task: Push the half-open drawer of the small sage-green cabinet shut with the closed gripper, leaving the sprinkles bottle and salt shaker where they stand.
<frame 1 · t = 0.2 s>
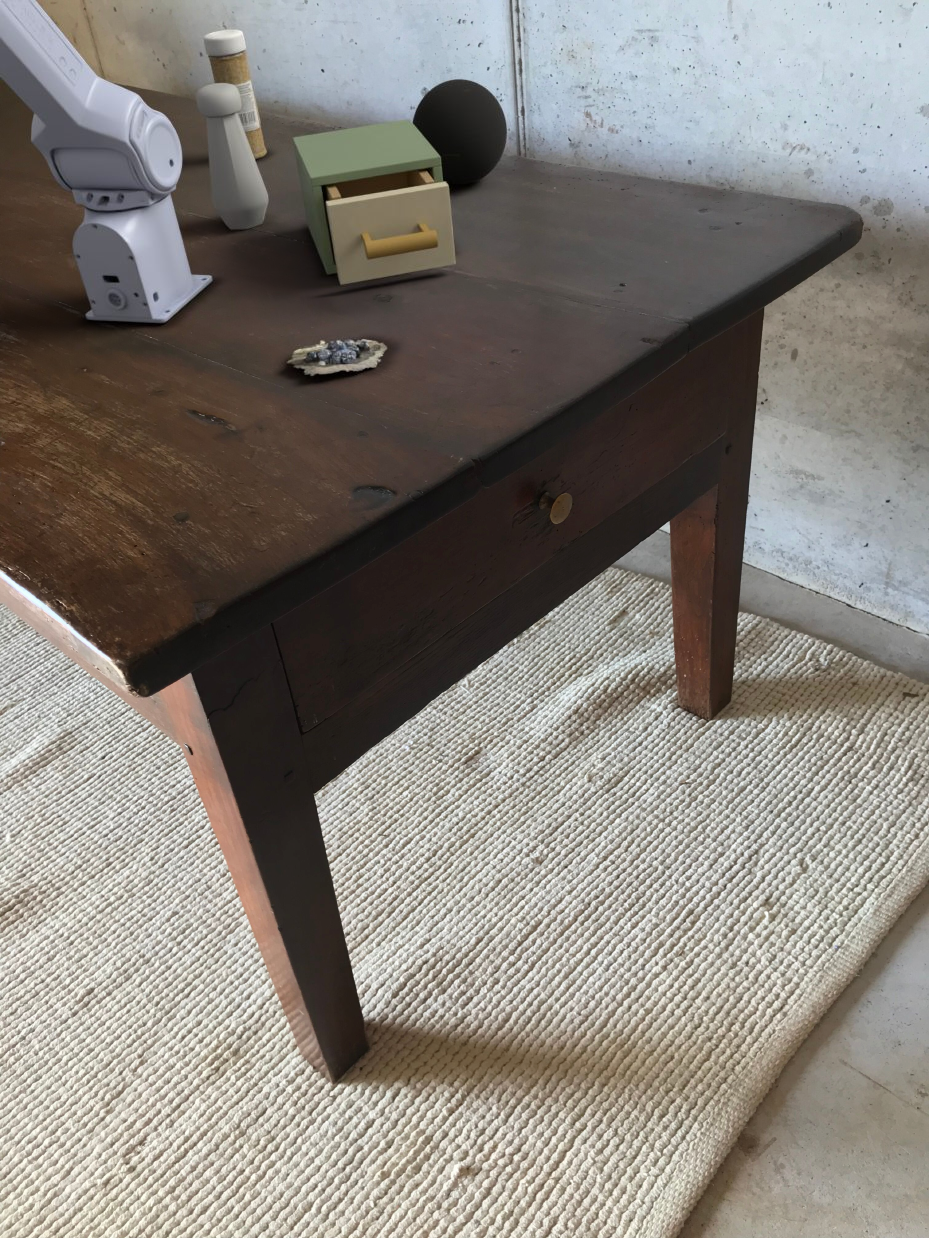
sprinkles bottle: (248, 158, 125), on the table
salt shaker: (245, 224, 107), on the table
black sphere: (463, 184, 111), on the table
cabinet: (376, 240, 100), on the table
blueberries: (340, 362, 80), on the table
drawer: (384, 220, 91), point 4 cm above the table, slide at 4.0 cm
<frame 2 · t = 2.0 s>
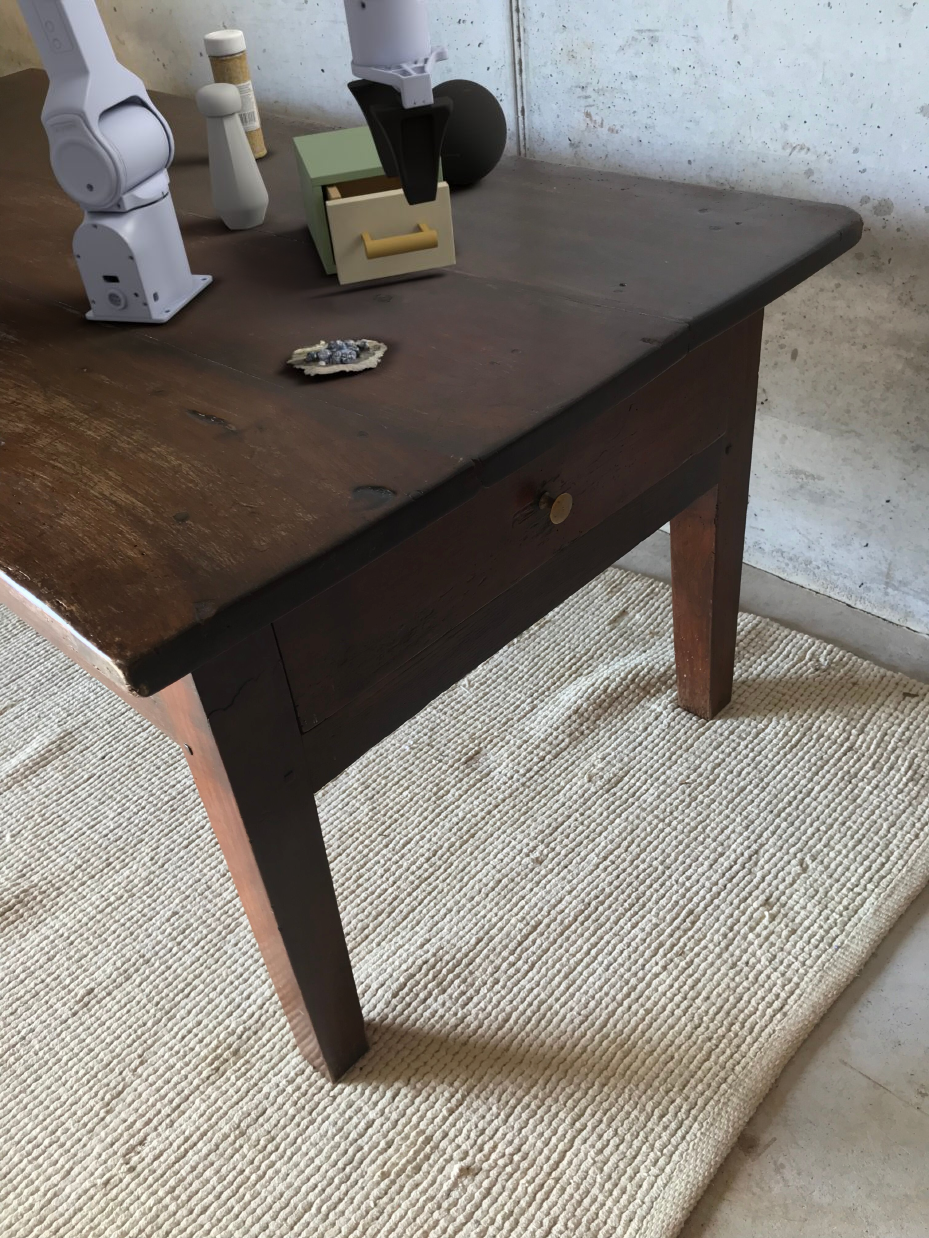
hand: (410, 188, 80), 10 cm above the table, tool pointing down, fingers open, 7 cm apart
nothing on the table moved.
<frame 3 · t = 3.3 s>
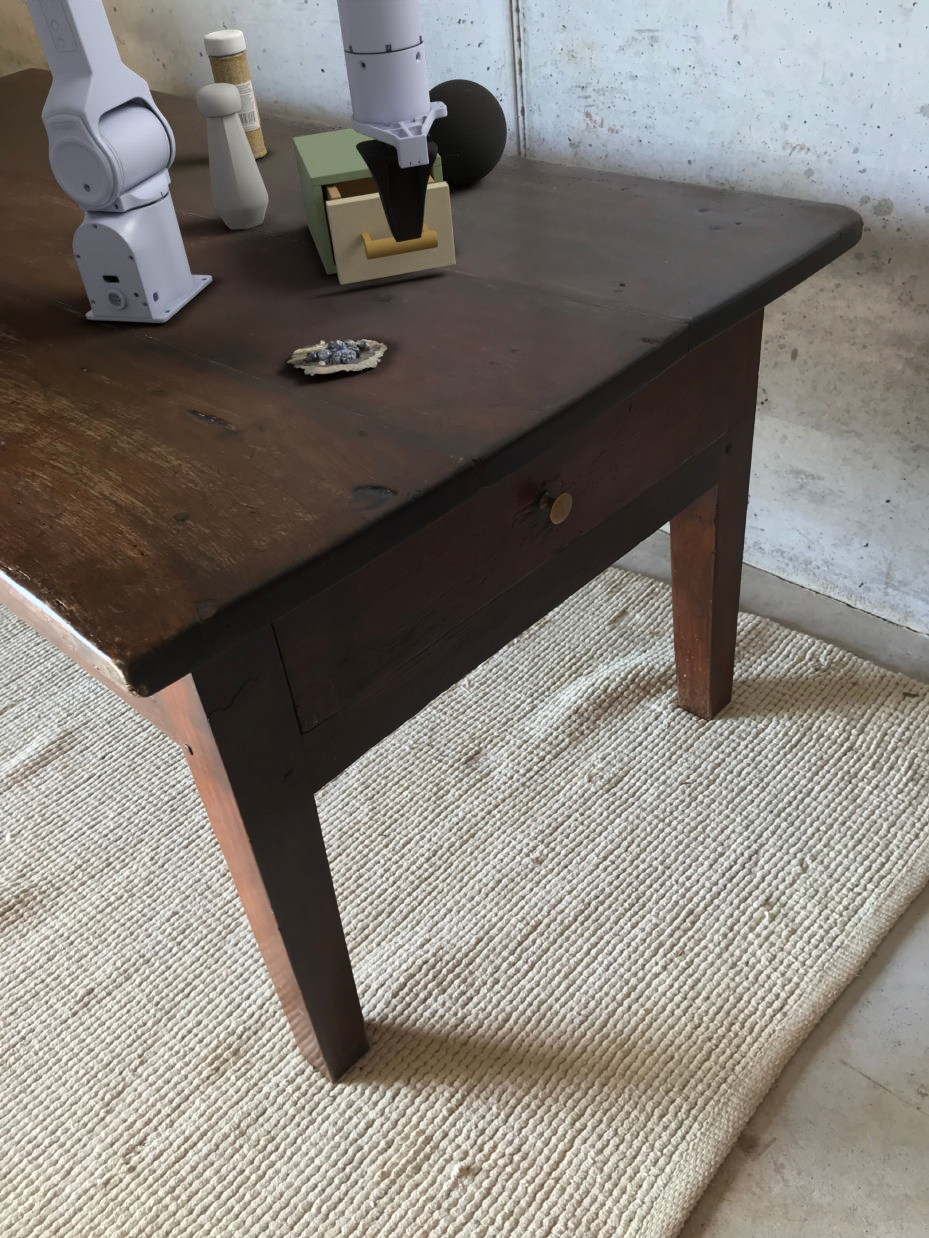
hand: (407, 237, 81), 6 cm above the table, tool pointing down, fingers closed
nothing on the table moved.
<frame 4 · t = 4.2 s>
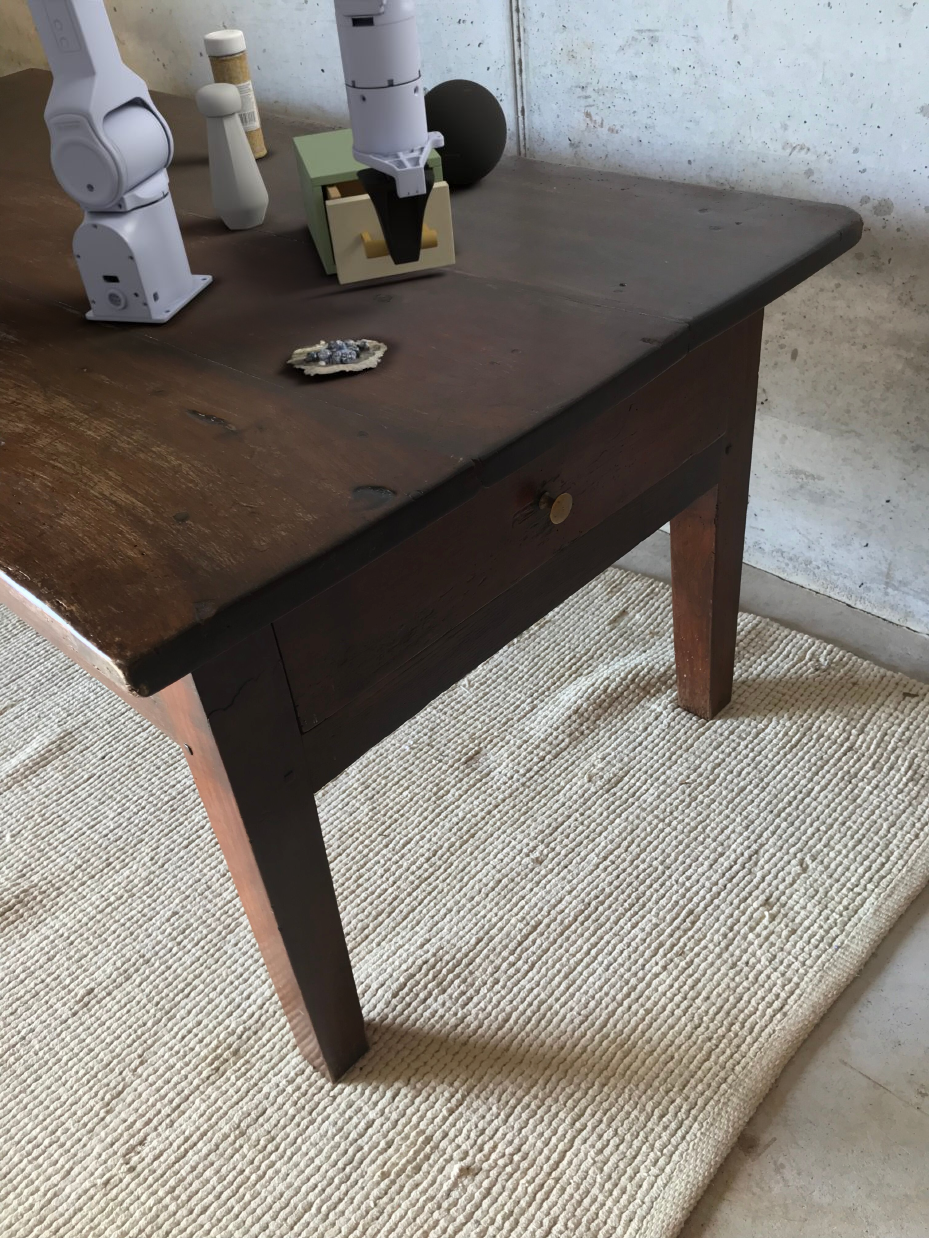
hand: (405, 260, 84), 4 cm above the table, tool pointing down, fingers closed
drawer: (384, 220, 91), point 4 cm above the table, slide at 3.9 cm, touching gripper
everything else where it was.
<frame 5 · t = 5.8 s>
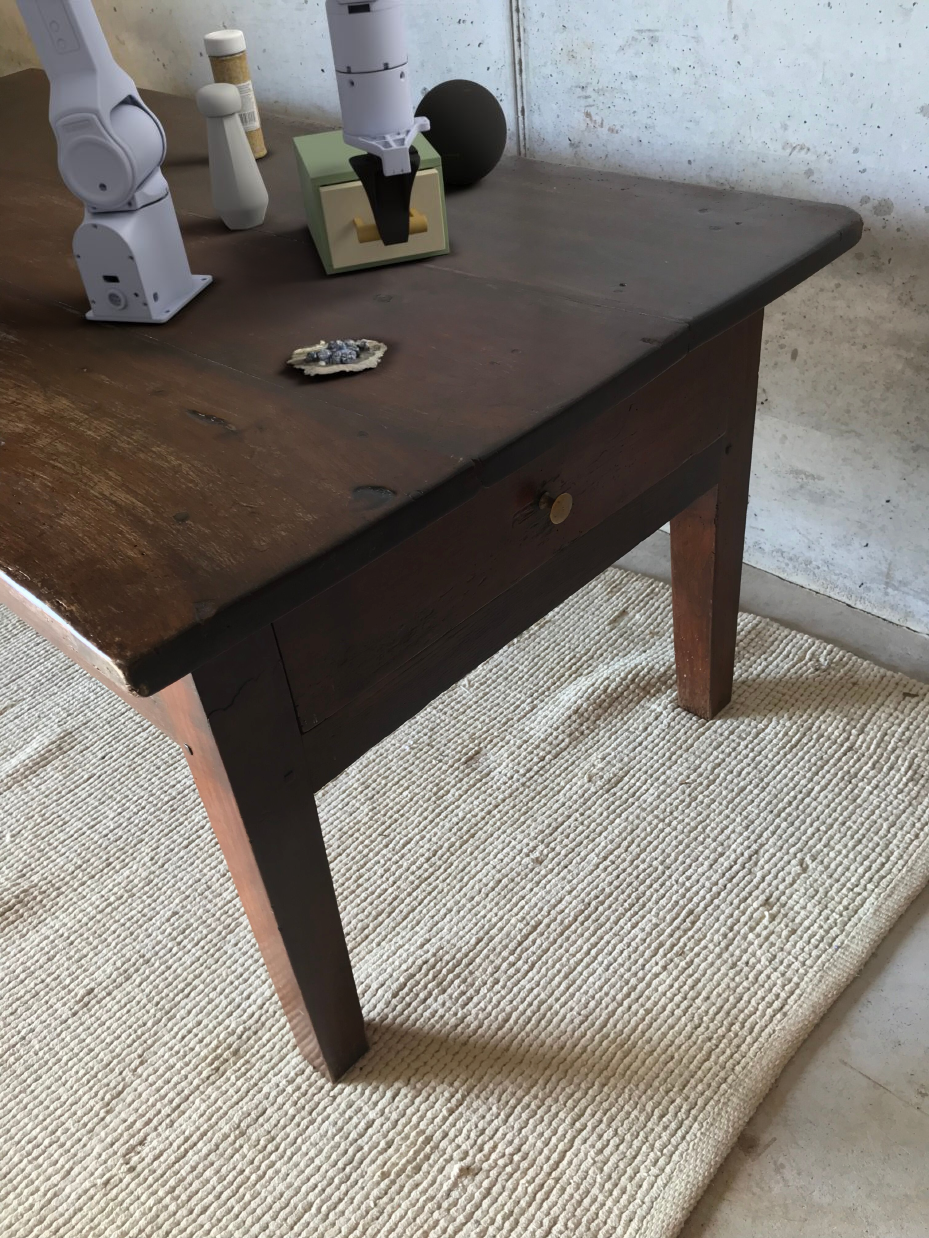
hand: (394, 241, 88), 4 cm above the table, tool pointing down, fingers closed, pressing on drawer
drawer: (376, 207, 94), point 4 cm above the table, slide at 0.0 cm, touching cabinet, gripper
everything else where it was.
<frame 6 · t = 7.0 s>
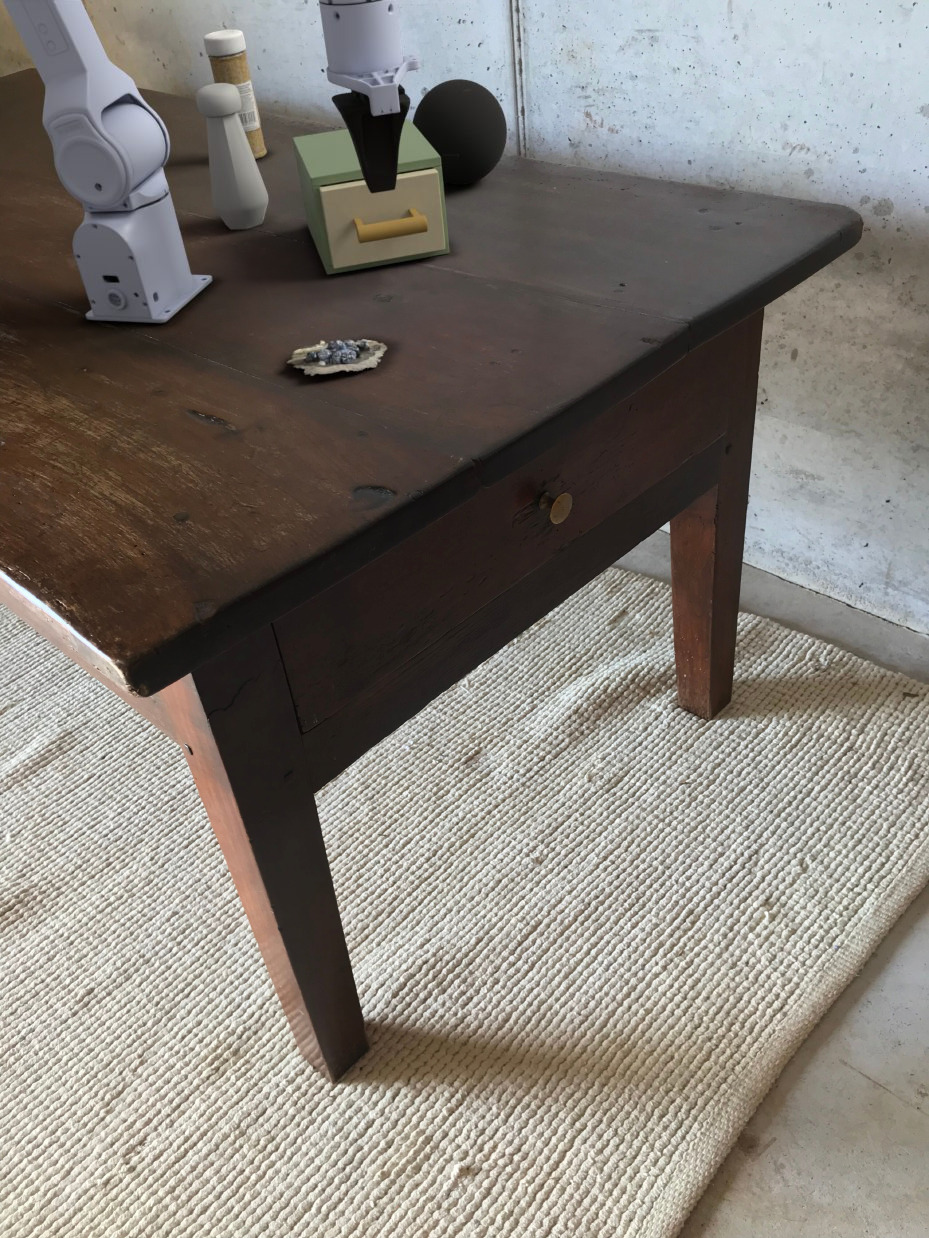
hand: (381, 189, 84), 9 cm above the table, tool pointing down, fingers closed
drawer: (376, 207, 94), point 4 cm above the table, slide at 0.0 cm, touching cabinet
everything else where it was.
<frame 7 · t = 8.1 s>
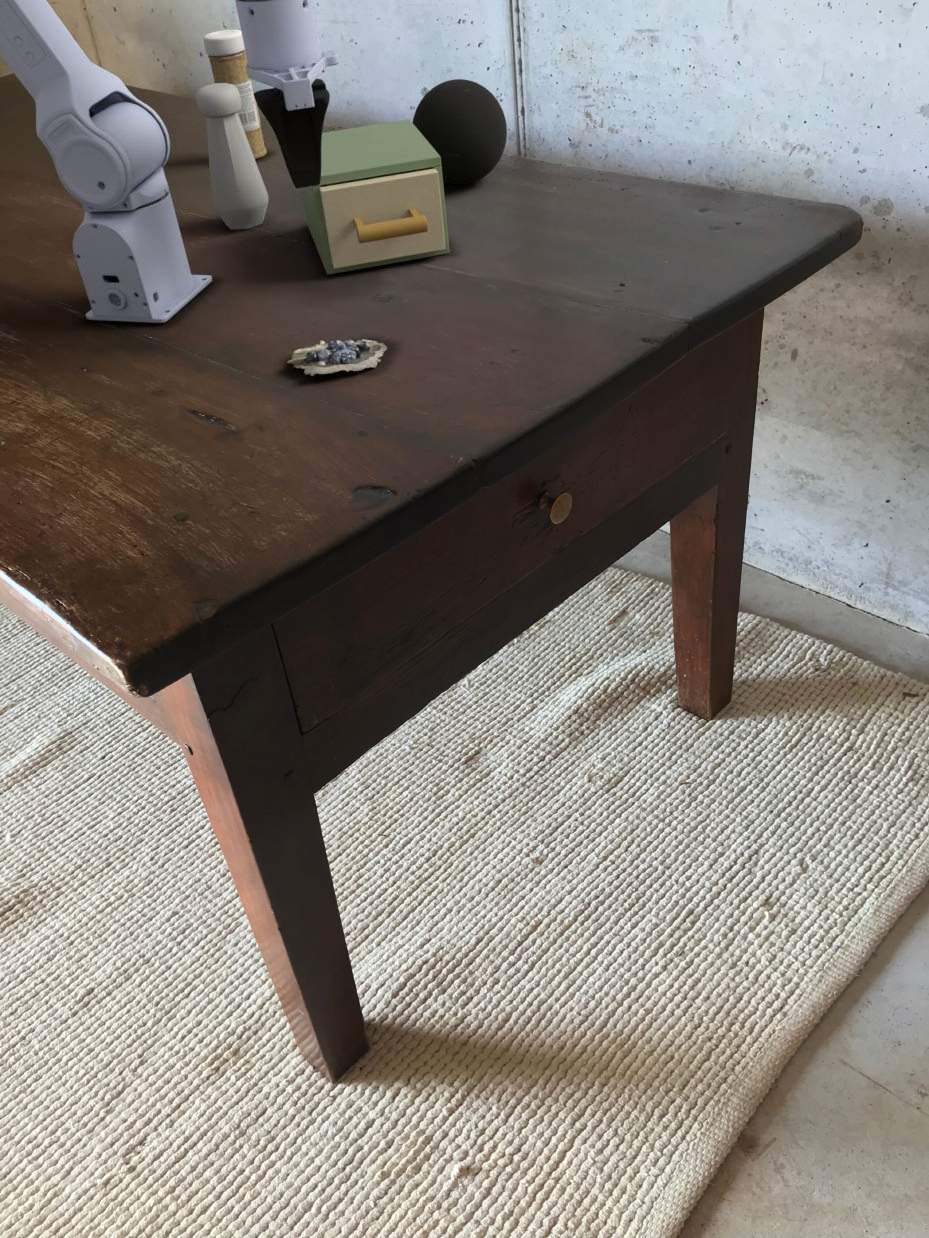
hand: (307, 184, 84), 9 cm above the table, tool pointing down, fingers closed
nothing on the table moved.
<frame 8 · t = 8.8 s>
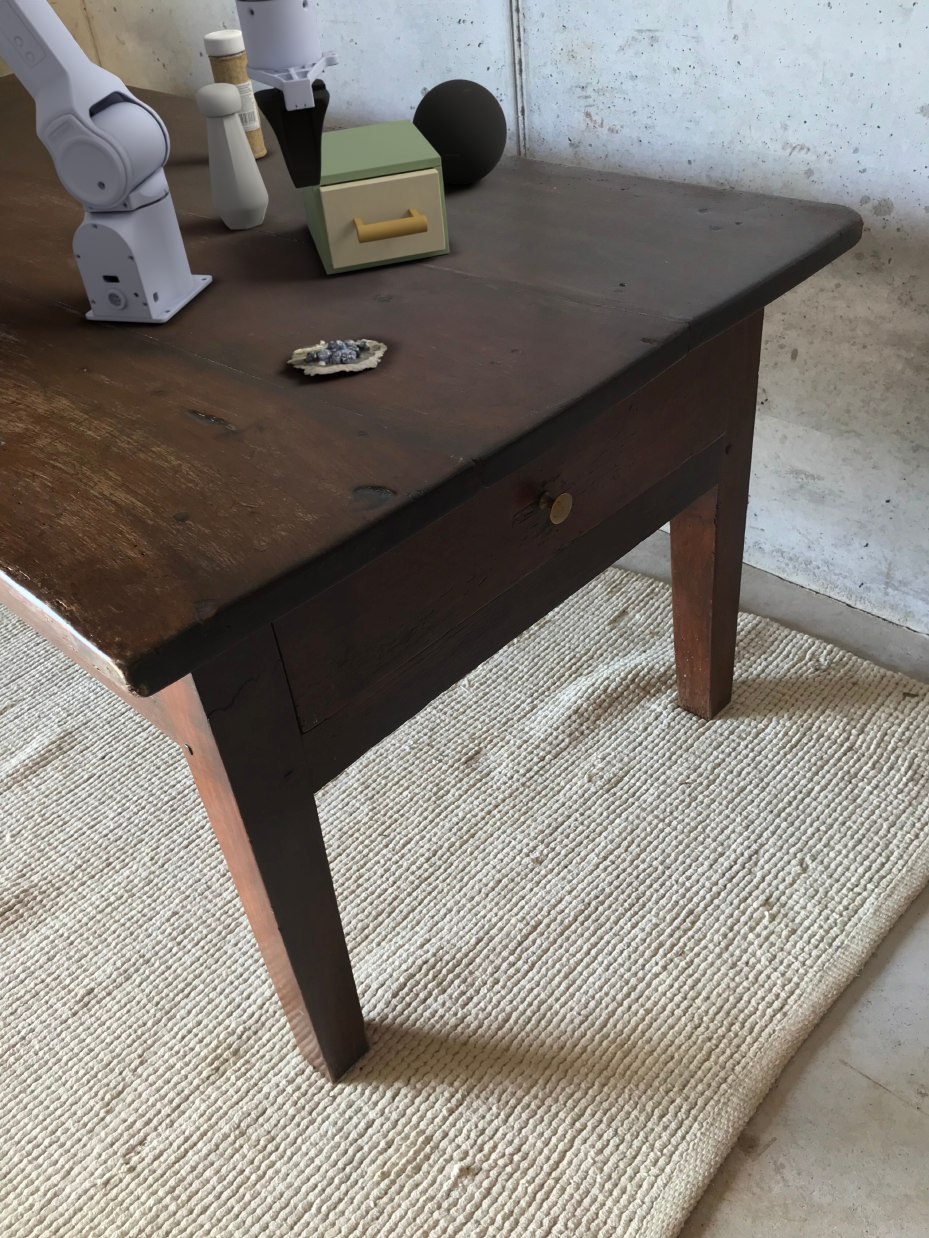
hand: (307, 184, 84), 9 cm above the table, tool pointing down, fingers closed
nothing on the table moved.
at the end: drawer slide at 0.0 cm; sprinkles bottle moved 0.2 cm from its start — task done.
